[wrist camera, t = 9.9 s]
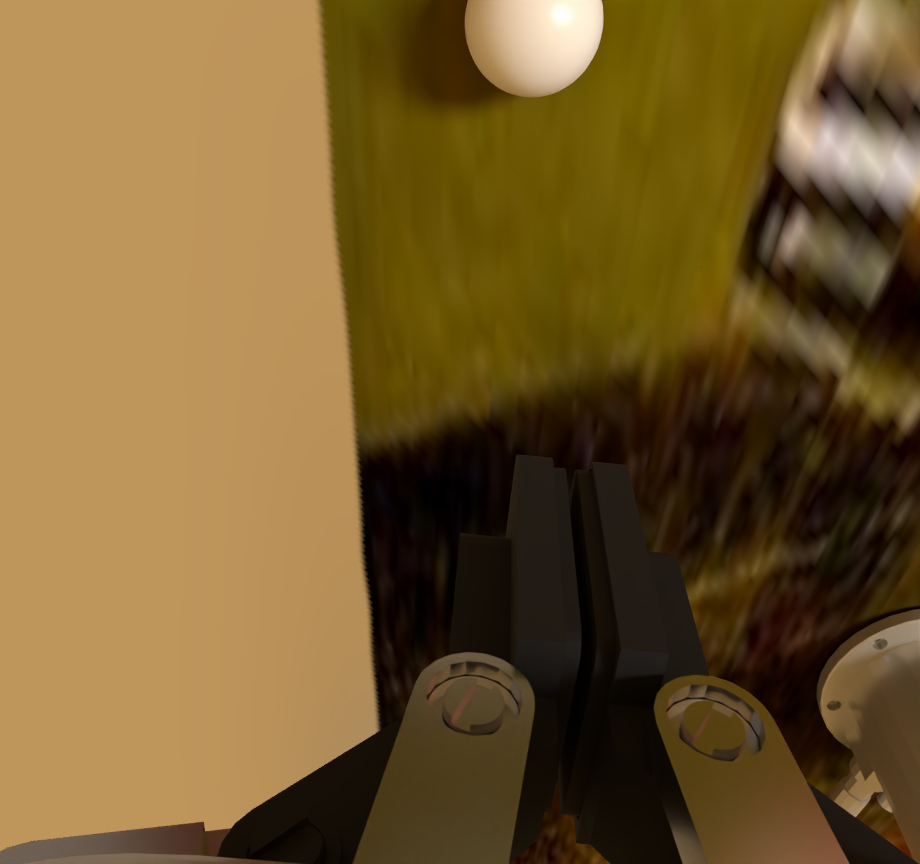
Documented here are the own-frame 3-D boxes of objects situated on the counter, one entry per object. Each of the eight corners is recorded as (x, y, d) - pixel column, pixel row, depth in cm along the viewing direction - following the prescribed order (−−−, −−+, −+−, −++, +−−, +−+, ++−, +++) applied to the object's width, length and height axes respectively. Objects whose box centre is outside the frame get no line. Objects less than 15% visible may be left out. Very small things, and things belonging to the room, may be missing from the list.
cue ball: (588, -43, 28) (595, -93, 32) (437, -8, 30) (460, -59, 33) (609, 108, 32) (613, 49, 36) (474, 132, 34) (491, 73, 37)
